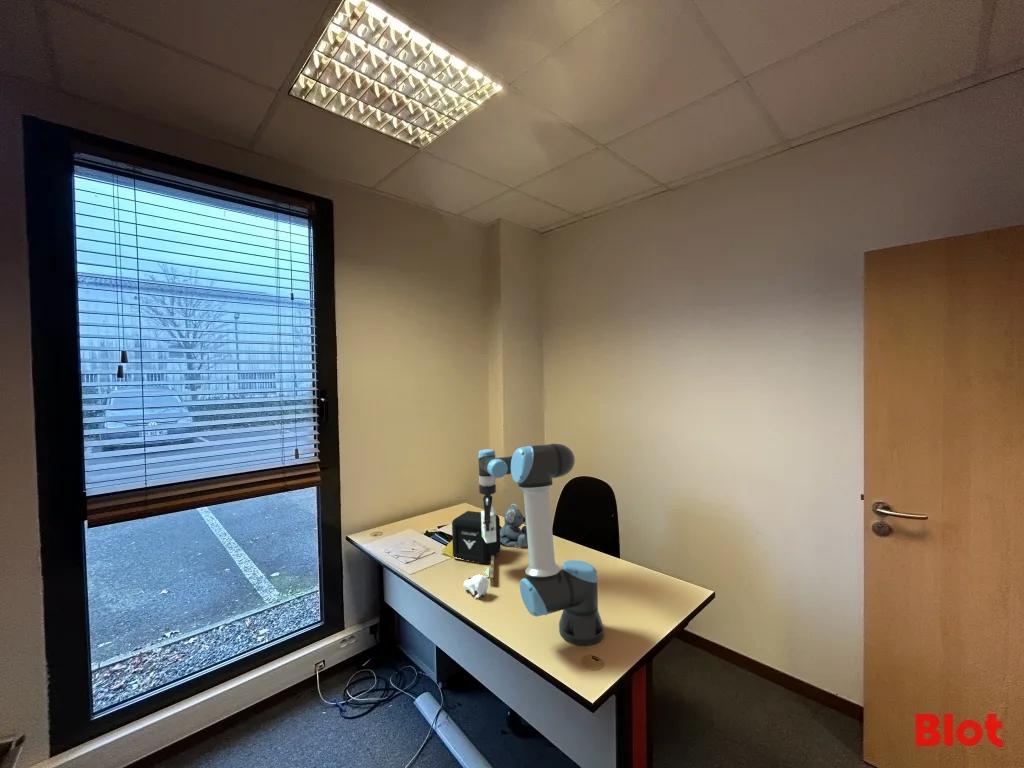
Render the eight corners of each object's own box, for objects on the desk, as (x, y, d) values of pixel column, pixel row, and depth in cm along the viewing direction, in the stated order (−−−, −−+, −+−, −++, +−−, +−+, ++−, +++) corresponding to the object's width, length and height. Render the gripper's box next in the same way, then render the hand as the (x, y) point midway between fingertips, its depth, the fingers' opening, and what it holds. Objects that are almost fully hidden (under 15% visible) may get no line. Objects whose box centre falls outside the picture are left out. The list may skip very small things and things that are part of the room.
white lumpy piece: (478, 579, 160) (458, 573, 167) (480, 602, 159) (459, 594, 167) (489, 573, 164) (469, 568, 172) (491, 595, 164) (471, 588, 172)
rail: (493, 586, 171) (492, 577, 171) (490, 586, 171) (490, 577, 171) (494, 563, 193) (493, 555, 193) (491, 563, 193) (491, 555, 193)
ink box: (481, 536, 186) (480, 504, 186) (491, 535, 188) (490, 503, 188) (486, 543, 178) (485, 510, 178) (496, 541, 180) (496, 508, 179)
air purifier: (450, 560, 198) (449, 519, 198) (465, 548, 211) (464, 510, 211) (487, 566, 190) (486, 524, 190) (500, 554, 204) (499, 514, 203)
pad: (488, 578, 178) (488, 577, 178) (468, 579, 178) (468, 577, 178) (489, 568, 187) (489, 567, 187) (469, 569, 187) (469, 568, 187)
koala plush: (527, 549, 208) (526, 511, 208) (493, 547, 211) (492, 510, 211) (531, 536, 225) (531, 501, 225) (500, 535, 228) (499, 500, 228)
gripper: (494, 490, 172) (495, 543, 172) (496, 477, 194) (497, 524, 194) (477, 491, 172) (478, 543, 172) (480, 478, 194) (482, 524, 194)
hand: (488, 533), depth 183 cm, fingers closed on ink box, 9 cm apart
